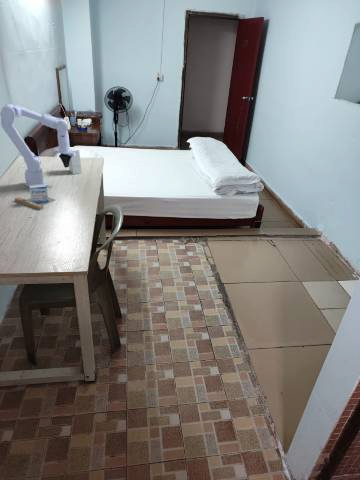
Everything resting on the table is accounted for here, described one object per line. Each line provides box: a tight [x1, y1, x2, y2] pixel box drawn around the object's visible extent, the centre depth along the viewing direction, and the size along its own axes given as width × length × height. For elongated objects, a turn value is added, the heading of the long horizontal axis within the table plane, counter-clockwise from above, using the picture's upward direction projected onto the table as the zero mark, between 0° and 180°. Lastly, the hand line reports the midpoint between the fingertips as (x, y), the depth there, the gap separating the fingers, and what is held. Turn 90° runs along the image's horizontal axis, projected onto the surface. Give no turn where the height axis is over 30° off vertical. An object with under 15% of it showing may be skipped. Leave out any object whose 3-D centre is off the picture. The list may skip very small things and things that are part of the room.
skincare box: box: [68, 147, 83, 175], centre depth 208 cm, size 8×6×15 cm
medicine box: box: [28, 183, 49, 204], centre depth 168 cm, size 8×4×9 cm, turn 117°
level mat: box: [14, 196, 56, 211], centre depth 170 cm, size 18×13×2 cm
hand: (66, 167), depth 187 cm, fingers closed
